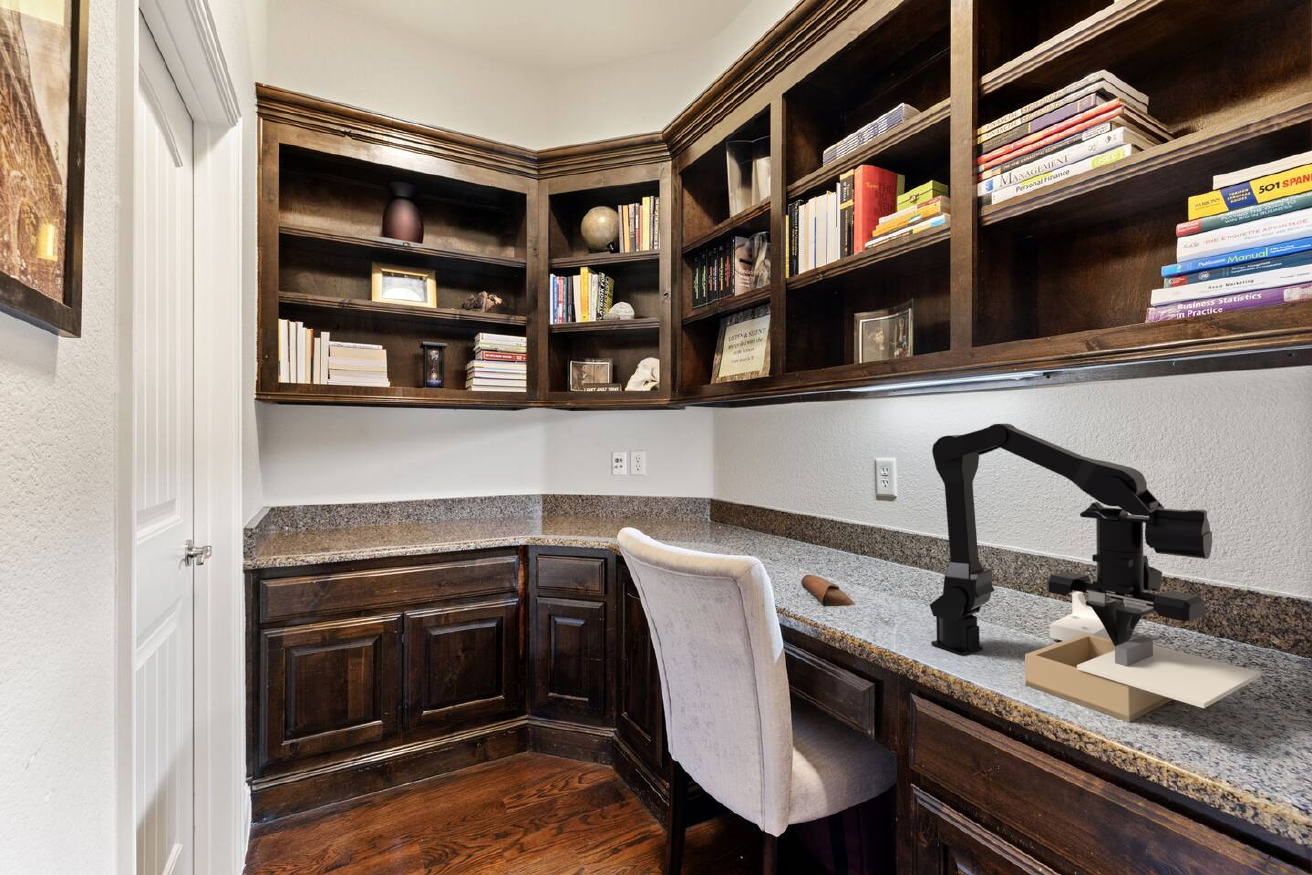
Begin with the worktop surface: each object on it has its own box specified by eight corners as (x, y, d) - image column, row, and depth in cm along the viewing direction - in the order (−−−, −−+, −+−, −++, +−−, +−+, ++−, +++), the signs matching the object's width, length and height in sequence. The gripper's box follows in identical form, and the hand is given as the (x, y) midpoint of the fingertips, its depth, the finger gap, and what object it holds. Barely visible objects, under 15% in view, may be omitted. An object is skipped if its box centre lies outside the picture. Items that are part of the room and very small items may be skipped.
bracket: (1077, 627, 122) (1077, 591, 122) (1120, 637, 116) (1119, 598, 116) (1050, 642, 114) (1049, 602, 114) (1093, 653, 109) (1093, 611, 109)
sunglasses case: (858, 605, 139) (843, 581, 139) (833, 621, 139) (818, 597, 139) (832, 585, 157) (819, 564, 157) (810, 600, 157) (796, 578, 157)
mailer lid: (1076, 669, 88) (1076, 648, 88) (1138, 644, 97) (1138, 625, 97) (1203, 708, 76) (1203, 683, 76) (1261, 676, 85) (1260, 654, 85)
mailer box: (1025, 685, 95) (1025, 654, 95) (1085, 662, 104) (1085, 633, 104) (1128, 722, 83) (1128, 686, 83) (1187, 692, 92) (1186, 659, 92)
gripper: (1220, 552, 88) (1221, 658, 88) (1080, 534, 104) (1081, 623, 104) (1186, 562, 82) (1187, 675, 83) (1044, 541, 99) (1045, 635, 99)
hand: (1120, 649), depth 92 cm, fingers closed
